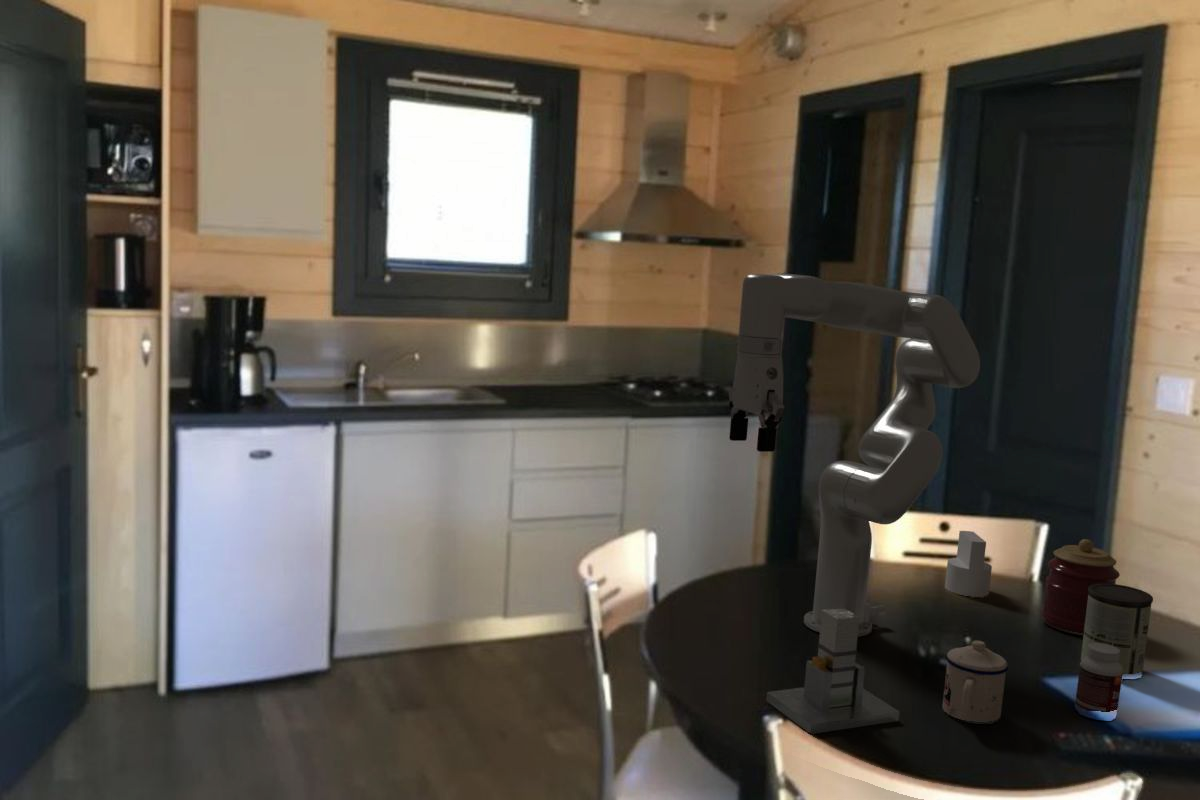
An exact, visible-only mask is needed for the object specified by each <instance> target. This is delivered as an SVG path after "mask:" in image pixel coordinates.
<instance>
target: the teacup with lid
mask: <svg viewBox="0 0 1200 800" xmlns="http://www.w3.org/2000/svg"><path fill="white" fill-rule="evenodd" d="M945 659H946V661H947V662H946V669H945V680H944V688H943V699H942V710H943V711H944V713H945V712H946V713H947V714H946V715H948V714H949V715H951V716H953V717H955V718H958V719H961V720H966V721H974V722H989V721H994V720H997V719H999V718H1000V719H1001V717H1000V716H1002V708H1003V706H1002V705H1003V697H1004V689H1005V681H1006V673H1007V671H1008V669H1009V666H1008V662H1007V661H1006V659H1005V658H1004V657H1003V656H1001V655H1000V654H997V653H996V652H993V651H992V650H990V649H989V648H987V647H986V643H985V642H984V641H981V640H973V641H972V642H971V645H967V646H963V647H962V646H961V647H955V648H952V649H950V650H949V651H948V652H947V654H946V656H945ZM949 715H948V716H949Z"/></svg>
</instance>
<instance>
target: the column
mask: <svg viewBox="0 0 1200 800" xmlns="http://www.w3.org/2000/svg"><path fill="white" fill-rule="evenodd" d="M858 627H859V616H857V615H855V614H853V613H851V612H850V611H848V610H846V609H844V608H841V609H830V610H822V615H821V626H820V633H819V637H818V638H819V639H818V643H817V648H818V649H817V656H820V657H821V658H823V659H824V660H826V661H827V663H826V668H827V669H828V670H830V671H831V672H832V682H831V693H830V704H829V708H832V707H839V706H846V705H851V702H852V699H853V697H852V689H853V686H854V682H853V679H854V670H855V668H856V666H855V662H856V658H857V657H856V656H857V654H858V650H857V645H858V638H859V637H858Z"/></svg>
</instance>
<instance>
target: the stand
mask: <svg viewBox="0 0 1200 800" xmlns="http://www.w3.org/2000/svg"><path fill="white" fill-rule="evenodd" d="M811 657H812V659H811V660H806V665H805V675H804V676H805V677H804V678H805V679H804V687H795V688H788V689H781V690H779V689H778V690H774V691H773V690H771V691H767V692H766V699H765V701H766V702H767V703H768V704H769V705H770V706H772V707H773V708H775V709H776V710H777V711H778V712H779V713H781V714H783V715H784V716H785V717H787V718H788V719H789V720H790V721H792V723H795V724H796V725H797V726H798V727H800V728H801V727H802V728H803V729H802V728H801V729H802V730H804V729H805V730H806V731H808V732H809V733H811V734H810V735H814V734H820V733H827V732H832V731H833V732H834V731H841V730H848V729H855V728H860V727H866V726H873V725H874V726H875V725H879V724H880V725H881V724H887V723H888V724H889V723H893V722H894V723H895V722H899V719H900V710H898V709H896V708H895V707H893V706H891V705H890V704H888V703H887V702H886V701H883V700H882V699H881V698H879V697H877V696H875V694H873V693H871V692H869V691H868V690H866V689H865V688H864V685H865V675H866V674H865V673H866V667H864V666H862V665H861V664H859V663H858V662H856V661H855V666H856V668H855V670H854V679H853V682H854V686H853V689H852V697H853V699H852V702H851V705H846V706H839V707H832V708H829V704H830V693H831V682H832V672H831V671H830V670H828V669H827V668H826V663H827V661H826V660H824V659H823V658H821V657H820V656H818V655H817V656H811ZM805 730H804V731H805ZM806 731H805V732H806ZM808 732H807V733H808ZM809 733H808V734H809Z"/></svg>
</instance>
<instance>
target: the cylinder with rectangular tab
mask: <svg viewBox="0 0 1200 800" xmlns="http://www.w3.org/2000/svg"><path fill="white" fill-rule="evenodd" d="M986 550H987V541H986V540H984V539H983V538H982V537H980V535H978V534H977V533H976V532H975V531H970V530H959V534H958V541H957V552H956V557H952V558H949V559H948V560H947V563H946V564H947V565H946V575H945V583H944V589H945V588H946V589H947V590H949V591H951V592H954V593H957V594H960V595H964V596H963V597H965V596H972V597H971V598H974V597H980V598H984V597H983V596H986V595H988V594H989V595H990V587H991V578H992V571H993V570H992V568H993V566H992V564H990V563H989V562H986V561H985V558H986V557H985V556H986ZM946 589H945V590H946ZM947 590H946V591H947ZM949 591H948V592H949ZM951 592H950V593H951ZM960 595H959V596H960ZM989 595H988V596H989ZM986 597H987V596H986Z"/></svg>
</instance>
